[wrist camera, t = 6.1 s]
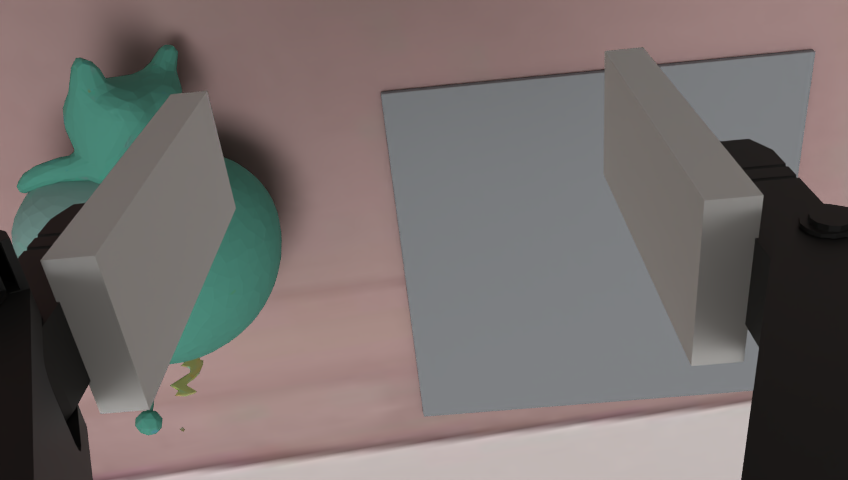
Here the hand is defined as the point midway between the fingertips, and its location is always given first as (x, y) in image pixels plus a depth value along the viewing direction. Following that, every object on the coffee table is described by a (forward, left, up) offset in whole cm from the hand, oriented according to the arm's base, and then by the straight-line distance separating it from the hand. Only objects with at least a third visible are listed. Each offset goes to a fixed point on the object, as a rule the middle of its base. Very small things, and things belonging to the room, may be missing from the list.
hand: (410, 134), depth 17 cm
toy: (+1, -10, -14) cm, 17 cm away
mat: (+14, +7, -17) cm, 23 cm away
